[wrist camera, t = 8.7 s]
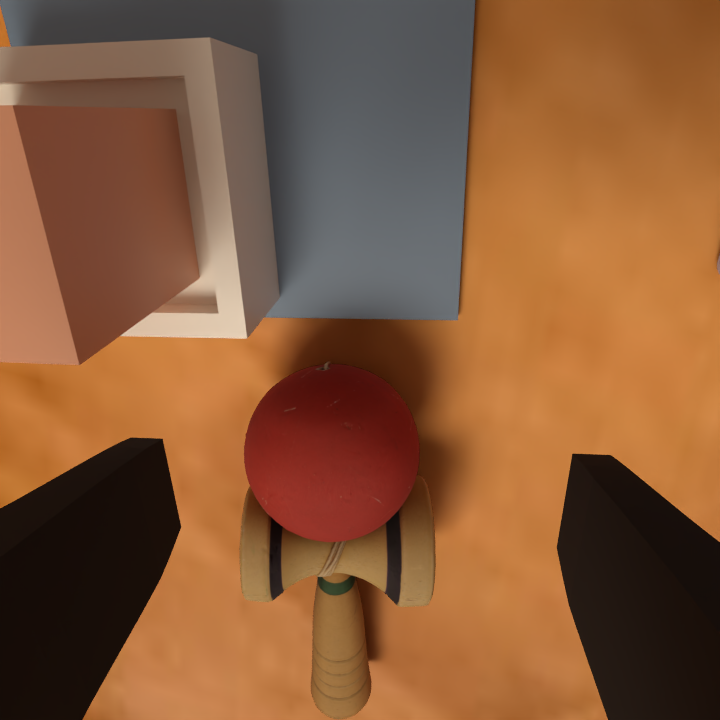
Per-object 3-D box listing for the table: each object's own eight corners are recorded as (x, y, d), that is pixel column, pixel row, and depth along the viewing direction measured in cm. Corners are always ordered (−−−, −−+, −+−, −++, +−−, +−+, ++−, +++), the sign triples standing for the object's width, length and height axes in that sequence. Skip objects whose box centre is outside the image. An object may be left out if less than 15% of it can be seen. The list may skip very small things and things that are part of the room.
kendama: (436, 641, 28) (468, 349, 18) (410, 780, 23) (436, 480, 13) (299, 603, 30) (262, 321, 20) (247, 723, 25) (164, 425, 15)
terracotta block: (175, 108, 14) (12, 104, 8) (199, 278, 16) (79, 365, 10) (14, 111, 14) (-239, 108, 9) (57, 275, 16) (-130, 356, 11)
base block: (257, 54, 16) (209, 37, 12) (279, 297, 19) (247, 338, 15) (23, 64, 16) (-83, 50, 13) (82, 295, 20) (9, 333, 16)
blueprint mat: (496, -414, 12) (498, -430, 11) (457, 316, 19) (457, 320, 18) (-78, -335, 13) (-92, -347, 13) (86, 310, 20) (80, 314, 20)
